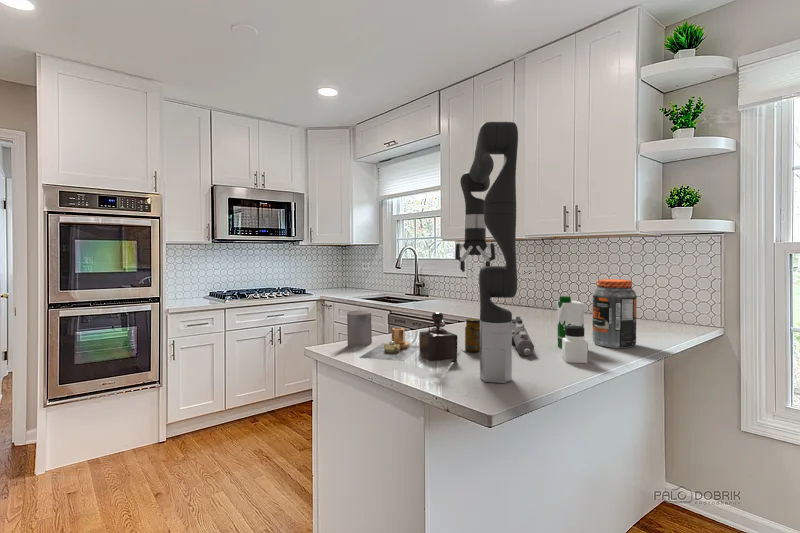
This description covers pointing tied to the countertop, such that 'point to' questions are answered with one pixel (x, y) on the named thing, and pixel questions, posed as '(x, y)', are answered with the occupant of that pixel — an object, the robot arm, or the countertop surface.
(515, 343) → the hydraulic cylinder
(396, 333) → the faceted vase
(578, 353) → the medicine bottle
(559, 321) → the milk carton
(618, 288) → the supplement tub
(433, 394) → the countertop surface
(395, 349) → the carrier
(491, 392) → the countertop surface
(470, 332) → the condiment
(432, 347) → the coffee grinder
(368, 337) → the pillar candle
